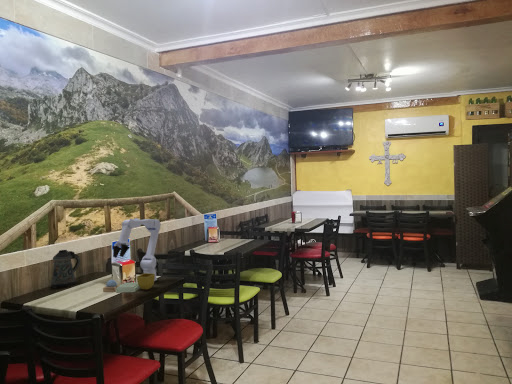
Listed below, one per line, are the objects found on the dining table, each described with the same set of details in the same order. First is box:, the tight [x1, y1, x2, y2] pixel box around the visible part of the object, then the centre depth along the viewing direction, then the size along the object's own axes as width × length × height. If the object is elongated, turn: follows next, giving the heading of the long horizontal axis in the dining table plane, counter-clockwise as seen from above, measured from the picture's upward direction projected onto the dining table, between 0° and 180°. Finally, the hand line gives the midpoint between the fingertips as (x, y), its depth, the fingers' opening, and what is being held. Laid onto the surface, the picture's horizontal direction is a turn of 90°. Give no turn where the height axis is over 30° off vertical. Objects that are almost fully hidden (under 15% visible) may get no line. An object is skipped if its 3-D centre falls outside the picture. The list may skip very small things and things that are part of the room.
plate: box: [105, 279, 118, 287], centre depth 260 cm, size 1×7×7 cm, turn 83°
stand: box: [102, 284, 121, 293], centre depth 260 cm, size 6×9×3 cm
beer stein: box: [50, 249, 81, 289], centre depth 282 cm, size 16×19×25 cm
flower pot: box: [136, 272, 155, 290], centre depth 259 cm, size 9×9×9 cm
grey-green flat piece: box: [116, 282, 141, 294], centre depth 259 cm, size 11×13×3 cm
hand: (117, 256), depth 249 cm, fingers open, 7 cm apart
